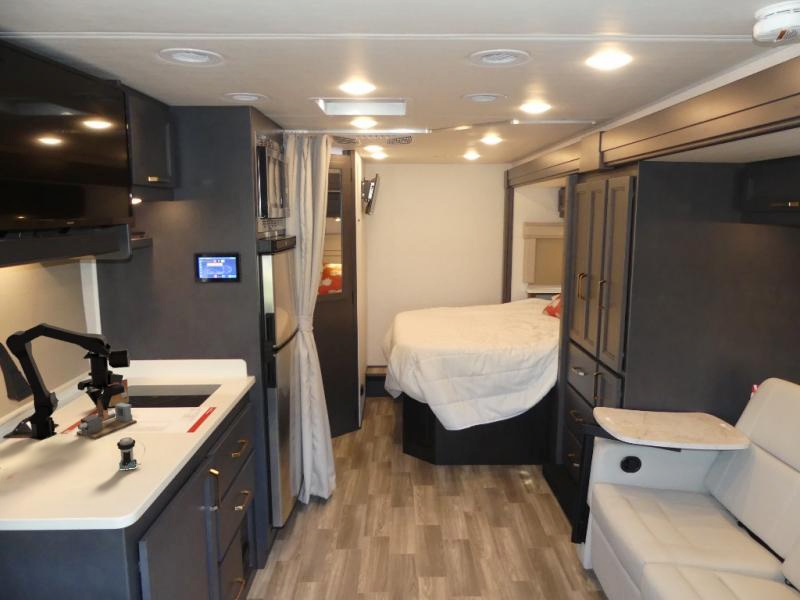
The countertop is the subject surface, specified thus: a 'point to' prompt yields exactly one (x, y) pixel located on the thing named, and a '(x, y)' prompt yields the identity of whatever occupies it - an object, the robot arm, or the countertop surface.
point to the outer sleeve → (92, 424)
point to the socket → (123, 412)
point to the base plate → (109, 428)
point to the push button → (127, 453)
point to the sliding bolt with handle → (101, 413)
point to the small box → (120, 397)
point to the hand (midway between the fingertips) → (102, 409)
